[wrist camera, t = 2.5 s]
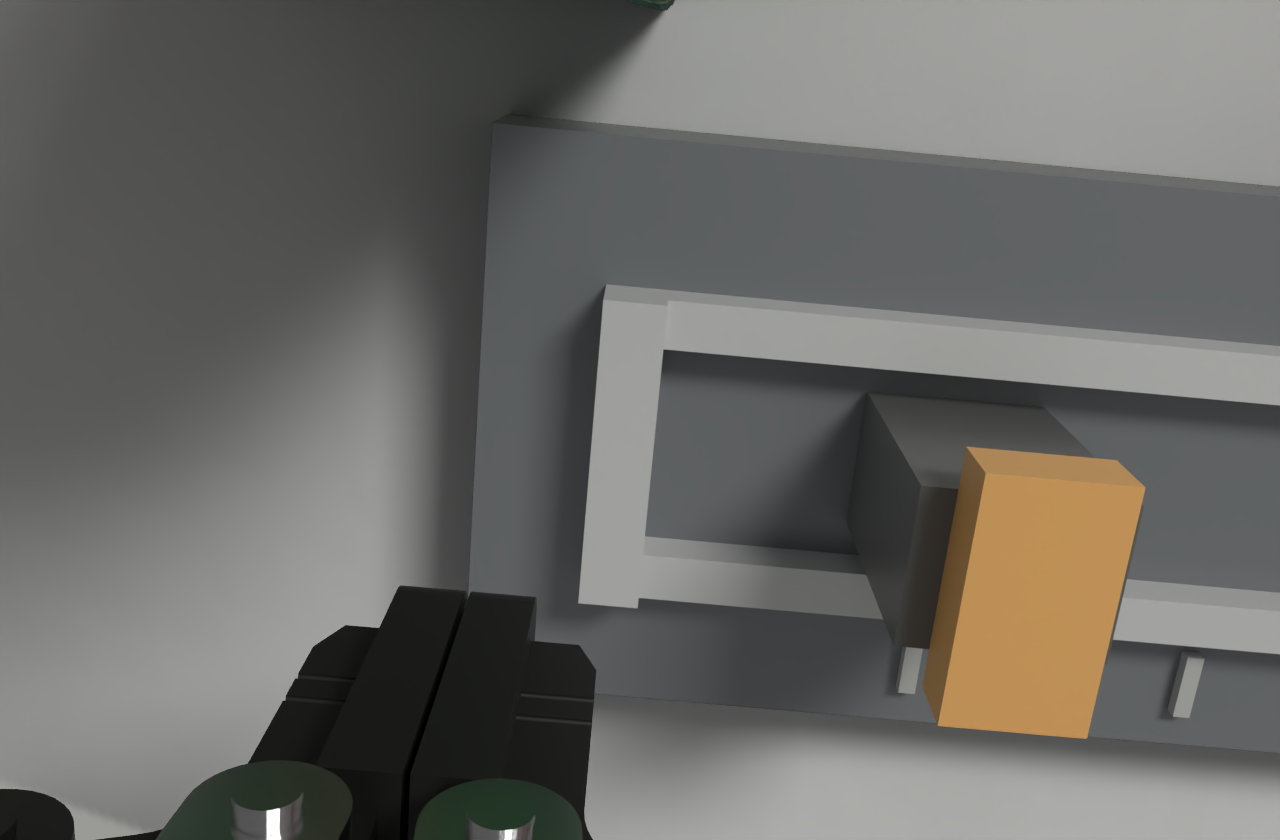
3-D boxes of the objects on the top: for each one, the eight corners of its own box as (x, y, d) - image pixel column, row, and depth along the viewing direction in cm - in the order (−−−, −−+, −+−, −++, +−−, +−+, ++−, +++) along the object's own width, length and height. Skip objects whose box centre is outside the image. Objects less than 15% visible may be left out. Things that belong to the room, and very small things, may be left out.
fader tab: (872, 357, 20) (945, 469, 15) (1051, 373, 20) (1185, 490, 15) (841, 554, 21) (900, 722, 16) (1011, 570, 21) (1124, 741, 16)
